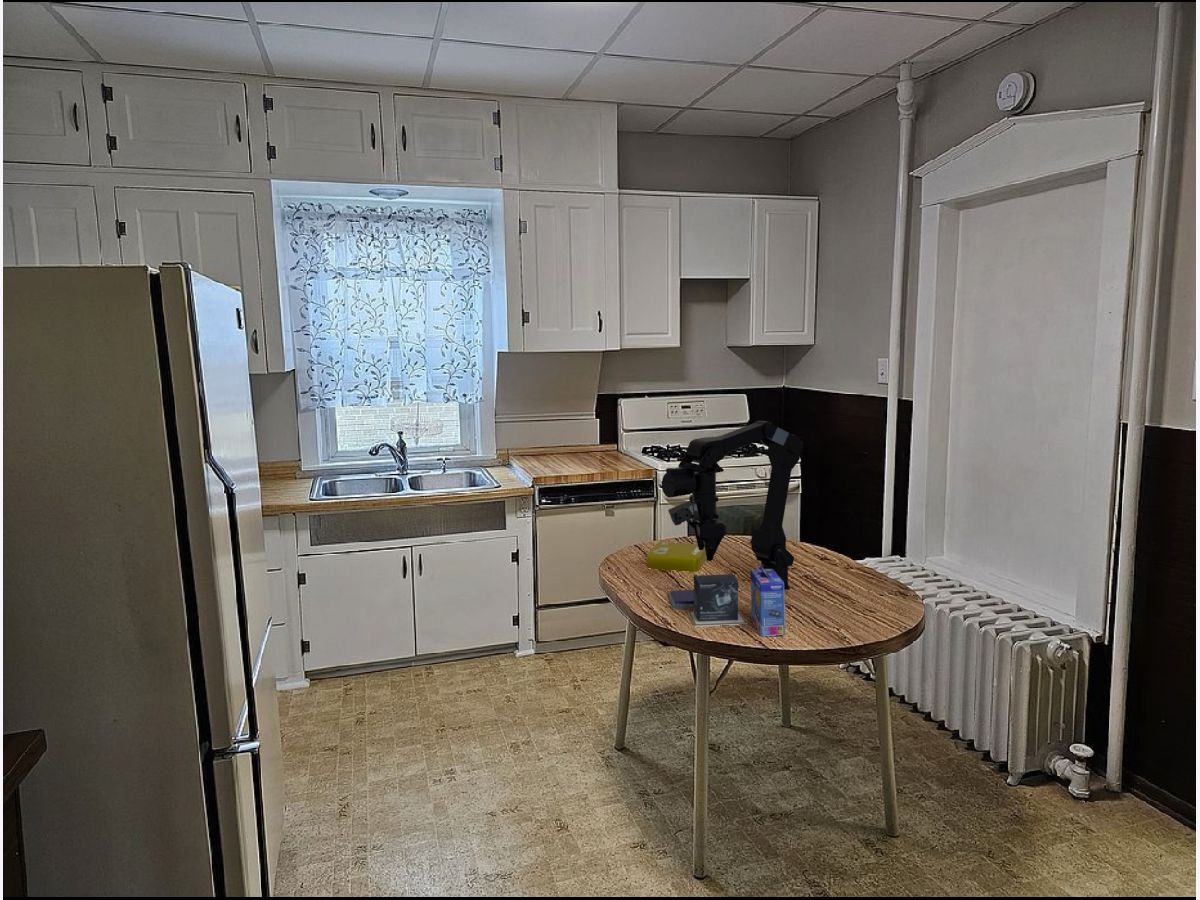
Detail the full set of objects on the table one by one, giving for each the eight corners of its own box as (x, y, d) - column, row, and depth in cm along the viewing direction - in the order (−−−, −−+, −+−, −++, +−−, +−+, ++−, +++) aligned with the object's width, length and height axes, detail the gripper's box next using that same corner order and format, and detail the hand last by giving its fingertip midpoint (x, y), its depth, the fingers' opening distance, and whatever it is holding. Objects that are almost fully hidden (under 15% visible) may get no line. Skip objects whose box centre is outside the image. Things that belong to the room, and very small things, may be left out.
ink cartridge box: (749, 620, 171) (749, 558, 169) (773, 619, 171) (774, 558, 169) (760, 637, 161) (760, 572, 159) (785, 636, 161) (786, 571, 159)
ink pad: (704, 595, 189) (704, 588, 188) (711, 607, 180) (710, 600, 179) (668, 596, 188) (668, 590, 188) (673, 609, 179) (673, 602, 179)
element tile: (698, 574, 207) (698, 557, 206) (645, 570, 211) (645, 554, 211) (707, 558, 221) (707, 542, 220) (657, 555, 225) (657, 540, 225)
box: (697, 622, 170) (697, 582, 168) (693, 613, 175) (693, 574, 174) (738, 620, 170) (738, 580, 169) (733, 611, 176) (733, 572, 174)
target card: (738, 610, 177) (738, 608, 177) (747, 624, 169) (747, 622, 168) (687, 612, 177) (687, 610, 177) (694, 626, 168) (694, 625, 168)
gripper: (664, 486, 188) (665, 546, 191) (678, 502, 170) (679, 569, 172) (707, 483, 189) (708, 544, 192) (726, 499, 171) (727, 566, 173)
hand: (705, 555), depth 182 cm, fingers open, 9 cm apart
